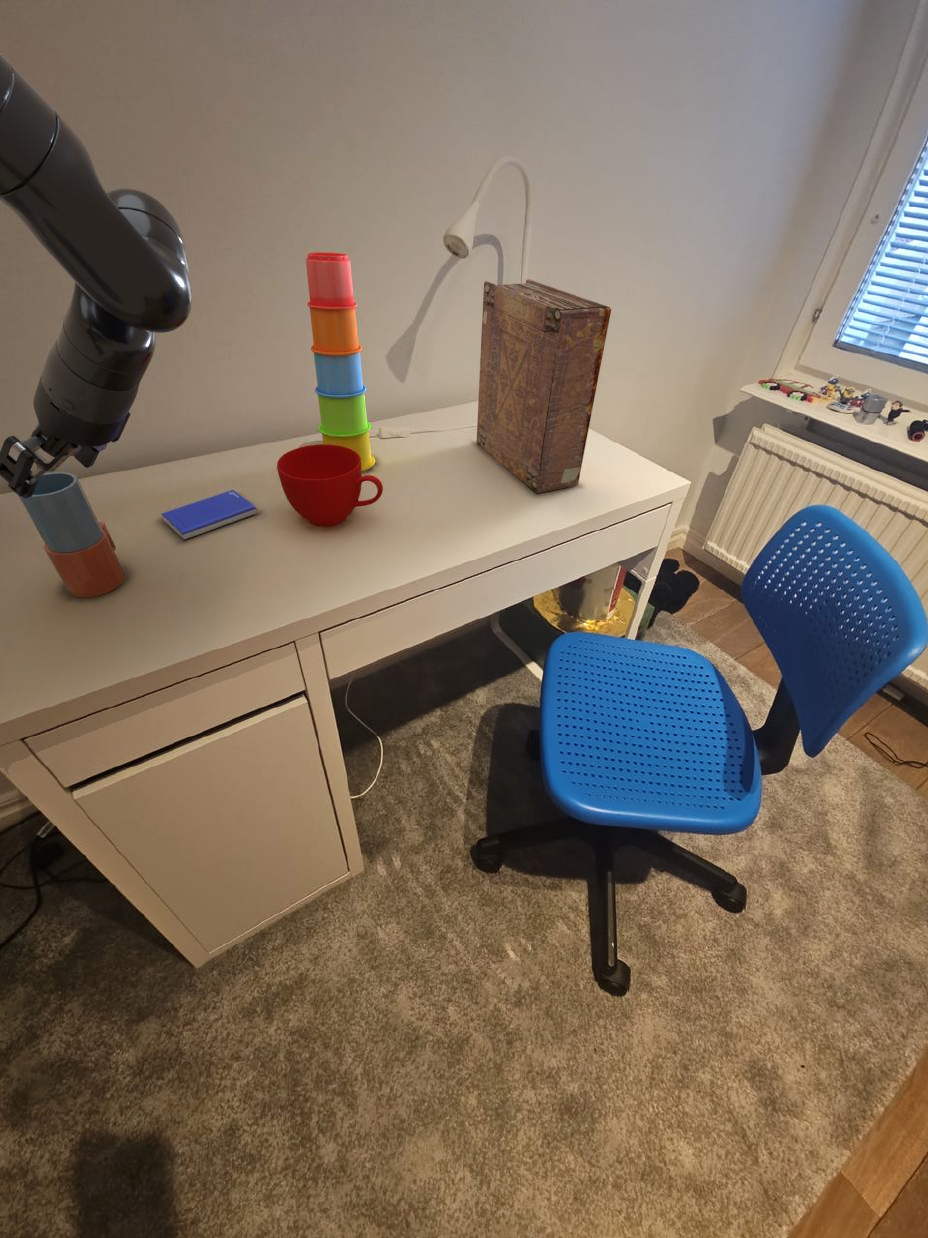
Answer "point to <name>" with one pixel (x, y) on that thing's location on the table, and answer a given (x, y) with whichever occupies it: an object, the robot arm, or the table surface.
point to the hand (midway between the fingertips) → (52, 475)
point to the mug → (89, 567)
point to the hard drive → (208, 514)
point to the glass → (62, 513)
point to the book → (538, 380)
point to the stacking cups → (337, 354)
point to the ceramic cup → (324, 482)
